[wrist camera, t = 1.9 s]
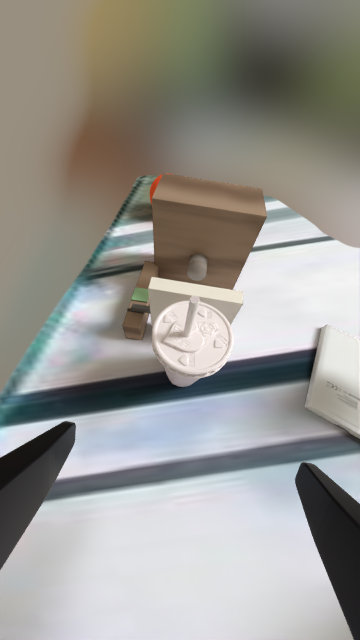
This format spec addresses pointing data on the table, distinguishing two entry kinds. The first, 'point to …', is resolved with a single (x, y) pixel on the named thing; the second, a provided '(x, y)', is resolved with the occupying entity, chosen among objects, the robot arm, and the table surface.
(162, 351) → the smoothie
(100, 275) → the table surface
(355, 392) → the external hard drive
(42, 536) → the table surface
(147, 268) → the brown blocky piece
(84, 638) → the table surface
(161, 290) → the cream flat box
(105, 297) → the table surface
